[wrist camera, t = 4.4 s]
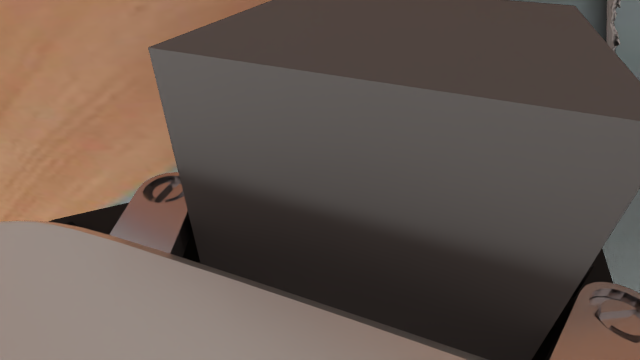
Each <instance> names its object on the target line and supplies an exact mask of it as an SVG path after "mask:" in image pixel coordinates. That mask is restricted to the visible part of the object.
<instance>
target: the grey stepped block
mask: <svg viewBox="0 0 640 360" xmlns="http://www.w3.org/2000/svg"><path fill="white" fill-rule="evenodd" d="M148 49H149V53H150V57H151V61H152V65H153V69H154V73H155V78H156V82H157V86H158V90H159V94H160V98H161V102H162V106H163V111H164V115H165V119H166V123H167V127H168V131H169V135H170V139H171V144H172V148H173V152H174V156H175V160H176V164H177V168H178V172H179V177H180V181H181V185H182V189H183V193H184V197H185V201H186V205H187V210H188V214H189V218H190V222H191V226H192V230H193V234H194V238H195V242H196V247H197V251H198V255H199V259H200V263H201V264H203V265H206V266H209V267H212V268H216V269H219V270H222V271H225V272H228V273H231V274H234V275H237V276H240V277H243V278H246V279H249V280H252V281H255V282H258V283H261V284H264V285H267V286H270V287H273V288H276V289H279V290H282V291H285V292H288V293H291V294H294V295H297V296H300V297H303V298H306V299H310V300H313V301H316V302H318V303H321V304H324V305H327V306H330V307H333V308H336V309H339V310H342V311H345V312H348V313H351V314H354V315H357V316H360V317H363V318H366V319H369V320H372V321H375V322H378V323H381V324H384V325H387V326H390V327H393V328H396V329H399V330H402V331H405V332H408V333H411V334H414V335H417V336H420V337H423V338H426V339H429V340H432V341H435V342H437V343H440V344H443V345H446V346H449V347H452V348H455V349H458V350H461V351H464V352H467V353H470V354H473V355H476V356H479V357H482V358H485V359H488V360H532V358H533V357H534V355H535V354H536V352H537V350H538V349H539V347H540V346H541V344H542V342H543V341H544V339H545V338H546V336H547V335H548V333H549V331H550V330H551V328H552V327H553V325H554V323H555V322H556V320H557V319H558V317H559V315H560V314H561V312H562V311H563V309H564V308H565V306H566V304H567V303H568V301H569V300H570V298H571V296H572V295H573V293H574V292H575V290H576V288H577V287H578V285H579V284H580V282H581V281H582V279H583V277H584V276H585V274H586V273H587V271H588V269H589V268H590V266H591V265H592V263H593V262H594V260H595V258H596V257H597V255H598V254H599V252H600V250H601V249H602V247H603V246H604V244H605V242H606V241H607V239H608V238H609V236H610V235H611V233H612V231H613V230H614V228H615V227H616V225H617V223H618V222H619V220H620V219H621V217H622V215H623V214H624V212H625V211H626V209H627V208H628V206H629V204H630V203H631V201H632V200H633V198H634V196H635V195H636V193H637V192H638V190H639V189H640V81H639V80H638V79H637V78H636V77H635V76H634V74H633V73H632V72H631V71H630V70H629V69H628V67H627V66H626V65H625V64H624V63H623V62H622V60H621V59H620V58H619V57H618V56H617V55H616V53H615V52H614V51H613V50H612V49H611V47H610V46H609V45H608V44H607V43H606V42H605V40H604V39H603V38H602V37H601V36H600V35H599V33H598V32H597V31H596V30H595V29H594V28H593V26H592V25H591V24H590V23H589V22H588V21H587V19H586V18H585V17H584V16H583V15H582V14H581V12H580V11H579V10H578V9H577V8H576V7H575V6H572V5H560V4H547V3H535V2H522V1H509V0H272V1H269V2H266V3H264V4H261V5H259V6H256V7H253V8H251V9H248V10H245V11H243V12H240V13H238V14H235V15H232V16H230V17H227V18H224V19H222V20H219V21H217V22H214V23H211V24H209V25H206V26H203V27H201V28H198V29H196V30H193V31H190V32H188V33H185V34H182V35H180V36H177V37H175V38H172V39H169V40H167V41H164V42H162V43H159V44H156V45H154V46H151V47H148Z"/></svg>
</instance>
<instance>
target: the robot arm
mask: <svg viewBox="0 0 640 360" xmlns="http://www.w3.org/2000/svg"><path fill="white" fill-rule="evenodd" d="M0 360H488V359H485V358H482V357H479V356H476V355H473V354H470V353H467V352H464V351H461V350H458V349H455V348H452V347H449V346H446V345H443V344H440V343H437V342H435V341H432V340H429V339H426V338H423V337H420V336H417V335H414V334H411V333H408V332H405V331H402V330H399V329H396V328H393V327H390V326H387V325H384V324H381V323H378V322H375V321H372V320H369V319H366V318H363V317H360V316H357V315H354V314H351V313H348V312H345V311H342V310H339V309H336V308H333V307H330V306H327V305H324V304H321V303H318V302H316V301H313V300H310V299H306V298H303V297H300V296H297V295H294V294H291V293H288V292H285V291H282V290H279V289H276V288H273V287H270V286H267V285H264V284H261V283H258V282H255V281H252V280H249V279H246V278H243V277H240V276H237V275H234V274H231V273H228V272H225V271H222V270H219V269H216V268H212V267H209V266H206V265H203V264H201V263H200V259H199V255H198V251H197V247H196V242H195V238H194V234H193V230H192V226H191V222H190V218H189V214H188V210H187V205H186V201H185V197H184V193H183V189H182V185H181V181H180V177H179V172H172V173H165V174H161V175H157V176H155V177H152V178H150V179H148V180H147V181H145V182H144V183H143V184H142V185H141V186H140V187H139V188H138V189H137V191H136V193H135V194H134V196H133V197H132V199H131V201H130V202H129V203H125V204H121V205H117V206H112V207H108V208H103V209H99V210H94V211H90V212H86V213H81V214H77V215H72V216H68V217H64V218H59V219H55V220H52V221H49V222H43V221H2V222H0ZM532 360H640V294H639V293H638V292H636V291H634V290H632V289H629V288H627V287H624V286H621V285H618V284H613V282H612V278H611V275H610V272H609V269H608V266H607V262H606V259H605V256H604V253H603V250H602V249H601V250H600V252H599V254H598V255H597V257H596V258H595V260H594V262H593V263H592V265H591V266H590V268H589V269H588V271H587V273H586V274H585V276H584V277H583V279H582V281H581V282H580V284H579V285H578V287H577V288H576V290H575V292H574V293H573V295H572V296H571V298H570V300H569V301H568V303H567V304H566V306H565V308H564V309H563V311H562V312H561V314H560V315H559V317H558V319H557V320H556V322H555V323H554V325H553V327H552V328H551V330H550V331H549V333H548V335H547V336H546V338H545V339H544V341H543V342H542V344H541V346H540V347H539V349H538V350H537V352H536V354H535V355H534V357H533V358H532Z"/></svg>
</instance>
